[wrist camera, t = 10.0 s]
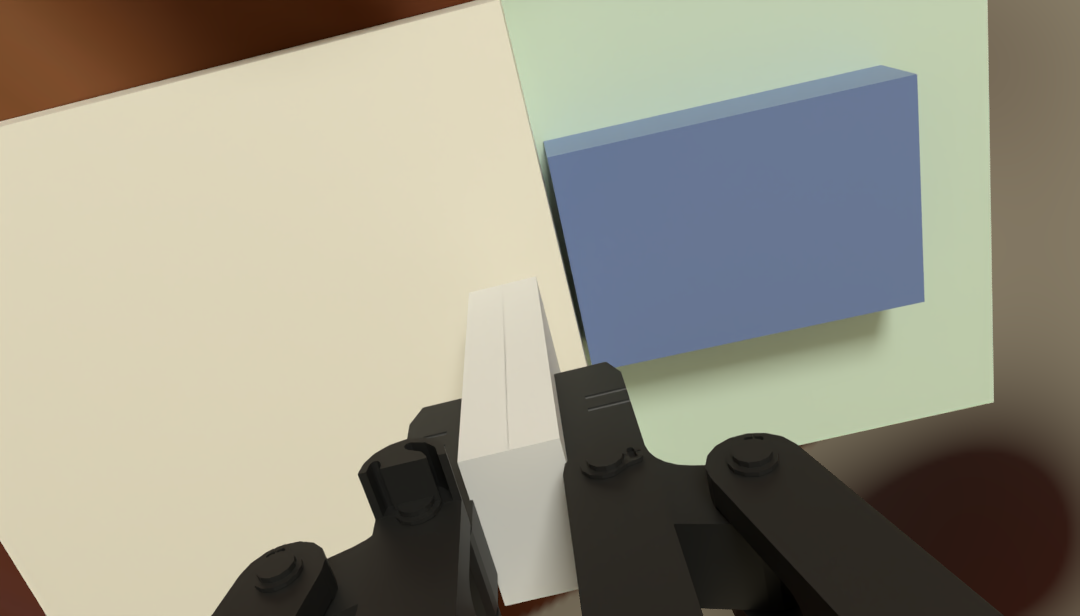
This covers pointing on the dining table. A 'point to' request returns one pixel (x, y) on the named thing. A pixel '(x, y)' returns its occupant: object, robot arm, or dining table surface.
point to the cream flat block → (250, 300)
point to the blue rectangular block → (744, 215)
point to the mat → (756, 66)
